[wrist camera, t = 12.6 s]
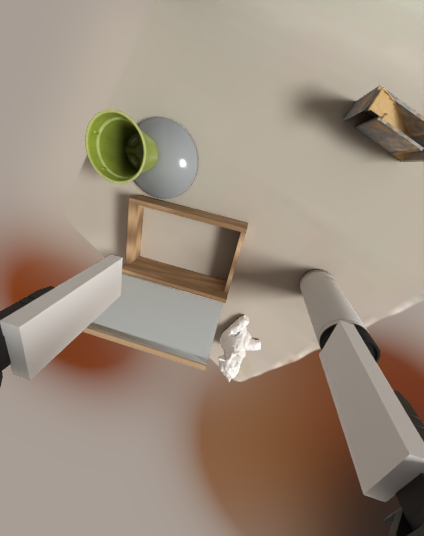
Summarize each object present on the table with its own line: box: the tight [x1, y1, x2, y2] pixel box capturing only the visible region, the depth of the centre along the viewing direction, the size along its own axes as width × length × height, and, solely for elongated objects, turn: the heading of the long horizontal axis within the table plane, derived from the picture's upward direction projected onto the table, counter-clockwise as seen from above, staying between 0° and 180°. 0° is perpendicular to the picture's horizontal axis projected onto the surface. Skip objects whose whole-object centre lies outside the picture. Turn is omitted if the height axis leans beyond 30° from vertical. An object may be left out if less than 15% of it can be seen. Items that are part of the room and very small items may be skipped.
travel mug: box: [300, 270, 380, 363], centre depth 36 cm, size 6×7×20 cm
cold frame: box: [122, 195, 248, 303], centre depth 44 cm, size 14×22×7 cm, turn 77°
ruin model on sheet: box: [343, 86, 424, 162], centre depth 30 cm, size 11×3×10 cm, turn 59°
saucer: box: [131, 117, 198, 199], centre depth 41 cm, size 13×13×1 cm
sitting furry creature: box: [218, 315, 261, 382], centre depth 49 cm, size 10×9×12 cm
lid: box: [82, 274, 223, 371], centre depth 38 cm, size 14×21×1 cm
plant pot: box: [85, 109, 158, 184], centre depth 36 cm, size 9×9×9 cm
